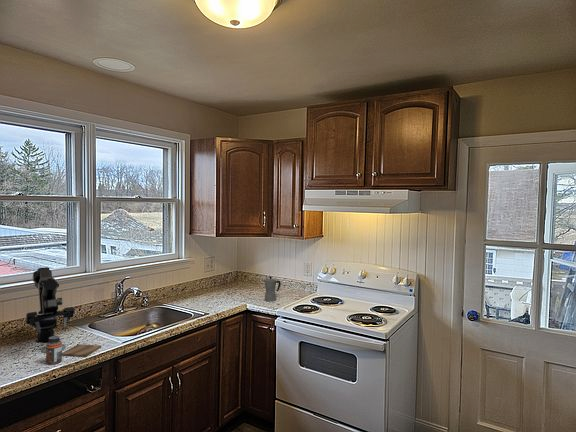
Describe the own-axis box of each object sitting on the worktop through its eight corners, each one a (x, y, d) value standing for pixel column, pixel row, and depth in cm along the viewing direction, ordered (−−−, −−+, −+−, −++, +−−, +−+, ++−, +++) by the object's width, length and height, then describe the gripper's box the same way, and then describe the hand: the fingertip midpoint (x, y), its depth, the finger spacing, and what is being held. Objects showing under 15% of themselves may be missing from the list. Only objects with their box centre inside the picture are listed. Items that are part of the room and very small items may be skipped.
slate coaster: (35, 352, 175) (35, 350, 175) (51, 344, 185) (51, 343, 185) (55, 353, 174) (55, 352, 174) (70, 345, 184) (70, 344, 184)
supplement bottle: (42, 363, 163) (42, 338, 163) (55, 358, 169) (55, 334, 168) (52, 366, 161) (52, 340, 161) (65, 360, 166) (65, 335, 166)
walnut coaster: (60, 355, 172) (60, 353, 172) (77, 346, 184) (77, 344, 184) (85, 357, 171) (85, 355, 171) (101, 347, 183) (101, 345, 183)
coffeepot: (259, 300, 279) (259, 276, 279) (266, 297, 288) (266, 274, 287) (277, 303, 272) (277, 278, 272) (283, 300, 280) (283, 276, 280)
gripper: (26, 295, 167) (28, 325, 159) (73, 289, 179) (77, 318, 170) (24, 308, 173) (26, 339, 165) (70, 302, 185) (74, 330, 177)
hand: (52, 331), depth 169 cm, fingers open, 9 cm apart
